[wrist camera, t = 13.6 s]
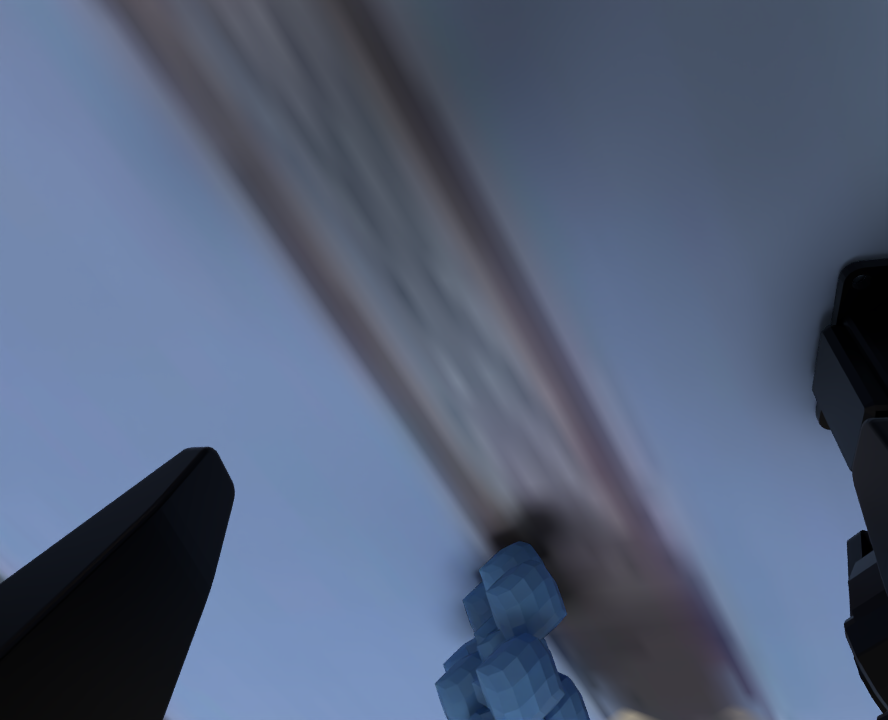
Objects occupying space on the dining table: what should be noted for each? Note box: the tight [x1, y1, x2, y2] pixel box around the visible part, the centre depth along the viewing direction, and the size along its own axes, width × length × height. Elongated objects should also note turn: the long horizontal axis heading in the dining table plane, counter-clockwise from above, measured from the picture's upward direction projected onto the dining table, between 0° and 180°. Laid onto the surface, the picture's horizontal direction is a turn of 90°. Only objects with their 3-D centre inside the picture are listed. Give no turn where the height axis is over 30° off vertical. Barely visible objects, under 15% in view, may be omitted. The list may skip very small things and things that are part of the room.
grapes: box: [435, 541, 590, 720], centre depth 28 cm, size 12×7×12 cm, turn 166°
